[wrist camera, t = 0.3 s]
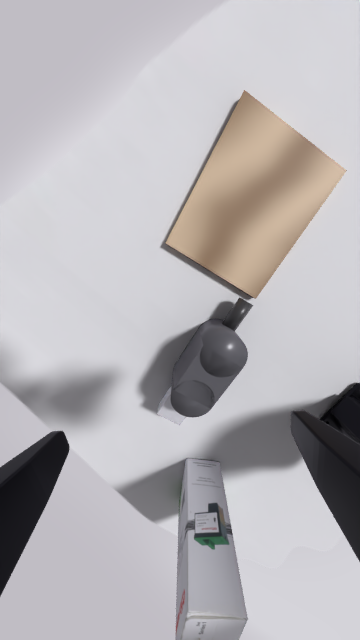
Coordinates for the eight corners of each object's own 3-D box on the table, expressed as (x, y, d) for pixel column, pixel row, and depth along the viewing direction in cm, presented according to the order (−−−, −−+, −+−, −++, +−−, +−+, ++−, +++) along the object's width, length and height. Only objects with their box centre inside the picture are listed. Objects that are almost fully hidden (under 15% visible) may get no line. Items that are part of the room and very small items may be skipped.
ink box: (210, 503, 27) (230, 674, 16) (177, 499, 27) (173, 669, 16) (221, 460, 25) (253, 627, 13) (184, 456, 24) (184, 620, 13)
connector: (257, 308, 19) (279, 321, 14) (184, 408, 22) (184, 442, 18) (224, 288, 18) (237, 295, 14) (155, 394, 22) (148, 426, 17)
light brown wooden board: (340, 174, 15) (346, 170, 15) (253, 297, 18) (255, 298, 18) (241, 97, 14) (244, 90, 13) (166, 243, 17) (165, 242, 16)
